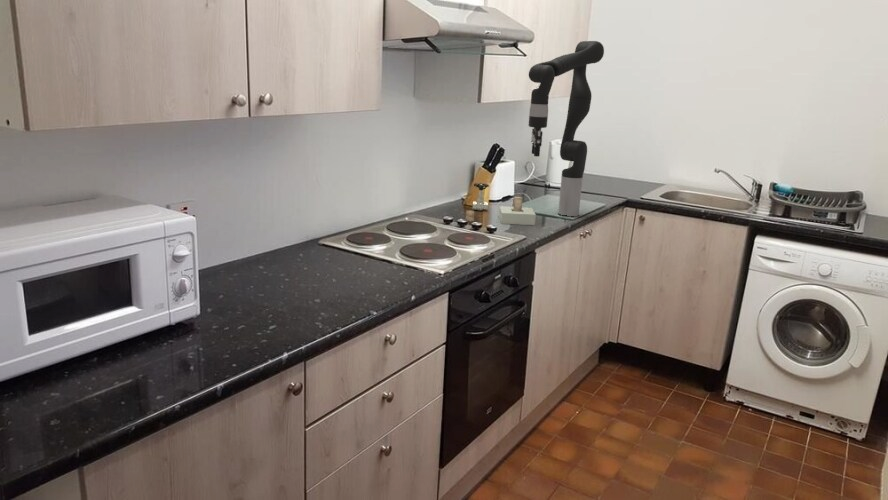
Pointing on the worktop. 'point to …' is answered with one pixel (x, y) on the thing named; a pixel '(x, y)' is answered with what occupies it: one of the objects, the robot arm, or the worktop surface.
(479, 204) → the valve
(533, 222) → the pale green slotted block
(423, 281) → the worktop surface
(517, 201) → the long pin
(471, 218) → the short pin
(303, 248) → the worktop surface
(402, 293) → the worktop surface
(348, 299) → the worktop surface
